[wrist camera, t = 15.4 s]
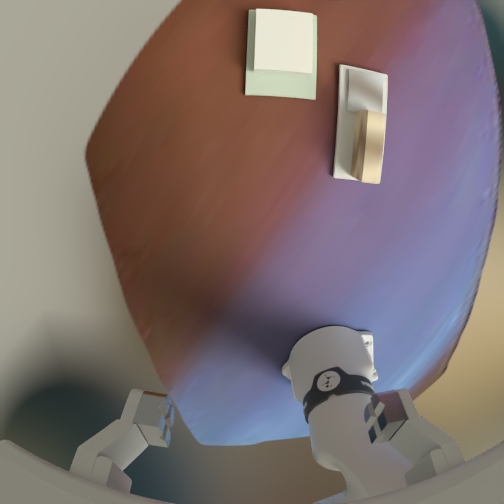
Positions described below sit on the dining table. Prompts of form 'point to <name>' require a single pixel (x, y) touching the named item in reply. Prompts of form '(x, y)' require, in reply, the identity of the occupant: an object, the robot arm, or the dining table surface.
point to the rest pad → (350, 124)
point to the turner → (366, 124)
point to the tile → (283, 42)
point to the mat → (274, 81)
